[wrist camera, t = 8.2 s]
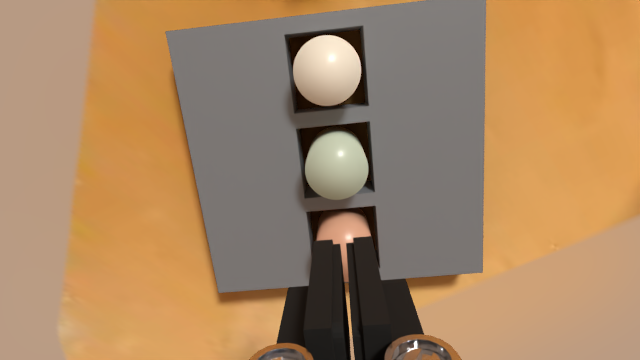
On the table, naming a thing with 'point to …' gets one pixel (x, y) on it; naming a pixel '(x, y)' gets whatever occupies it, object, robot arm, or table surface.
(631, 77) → the table surface
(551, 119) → the table surface
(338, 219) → the pink egg
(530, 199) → the table surface
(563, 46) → the table surface
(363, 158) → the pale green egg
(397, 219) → the panel
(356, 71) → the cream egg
